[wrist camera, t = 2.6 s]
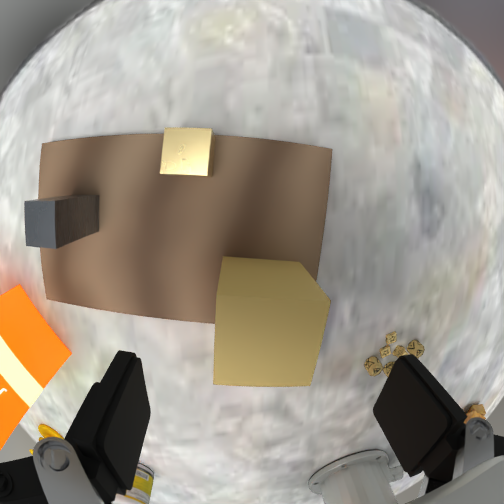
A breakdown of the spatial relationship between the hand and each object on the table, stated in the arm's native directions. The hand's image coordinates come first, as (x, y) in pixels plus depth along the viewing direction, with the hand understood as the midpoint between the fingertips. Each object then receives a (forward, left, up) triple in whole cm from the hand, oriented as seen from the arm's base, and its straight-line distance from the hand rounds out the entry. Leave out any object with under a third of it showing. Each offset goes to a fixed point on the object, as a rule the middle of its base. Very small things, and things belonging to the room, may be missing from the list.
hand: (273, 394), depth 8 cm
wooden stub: (+5, -8, -11) cm, 14 cm away
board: (+7, -3, -12) cm, 14 cm away
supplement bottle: (+14, +31, -12) cm, 36 cm away
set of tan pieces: (-14, +7, -13) cm, 20 cm away
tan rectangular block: (0, +1, -11) cm, 11 cm away
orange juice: (+23, +9, -12) cm, 27 cm away
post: (+13, -4, -11) cm, 17 cm away
